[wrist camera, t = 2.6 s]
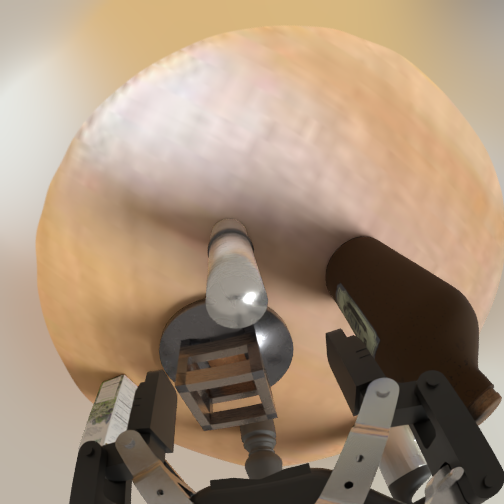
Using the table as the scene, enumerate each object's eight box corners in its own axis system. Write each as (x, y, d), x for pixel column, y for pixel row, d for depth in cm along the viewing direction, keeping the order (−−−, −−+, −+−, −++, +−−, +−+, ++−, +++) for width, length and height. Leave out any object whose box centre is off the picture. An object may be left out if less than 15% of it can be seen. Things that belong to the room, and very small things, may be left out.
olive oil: (377, 215, 32) (546, 324, 9) (399, 278, 36) (519, 395, 13) (306, 260, 33) (426, 441, 10) (337, 319, 37) (428, 471, 14)
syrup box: (124, 402, 39) (108, 471, 26) (100, 380, 37) (77, 451, 24) (147, 394, 39) (135, 469, 25) (123, 372, 37) (101, 449, 23)
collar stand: (279, 280, 33) (299, 326, 25) (297, 377, 40) (313, 424, 31) (140, 312, 33) (121, 363, 24) (187, 400, 40) (185, 448, 31)
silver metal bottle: (253, 223, 31) (279, 282, 18) (242, 258, 32) (258, 335, 19) (215, 212, 30) (212, 266, 17) (205, 249, 31) (197, 323, 18)
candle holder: (234, 429, 44) (248, 548, 21) (249, 412, 42) (271, 543, 19) (262, 434, 46) (284, 546, 23) (279, 418, 44) (309, 538, 21)
